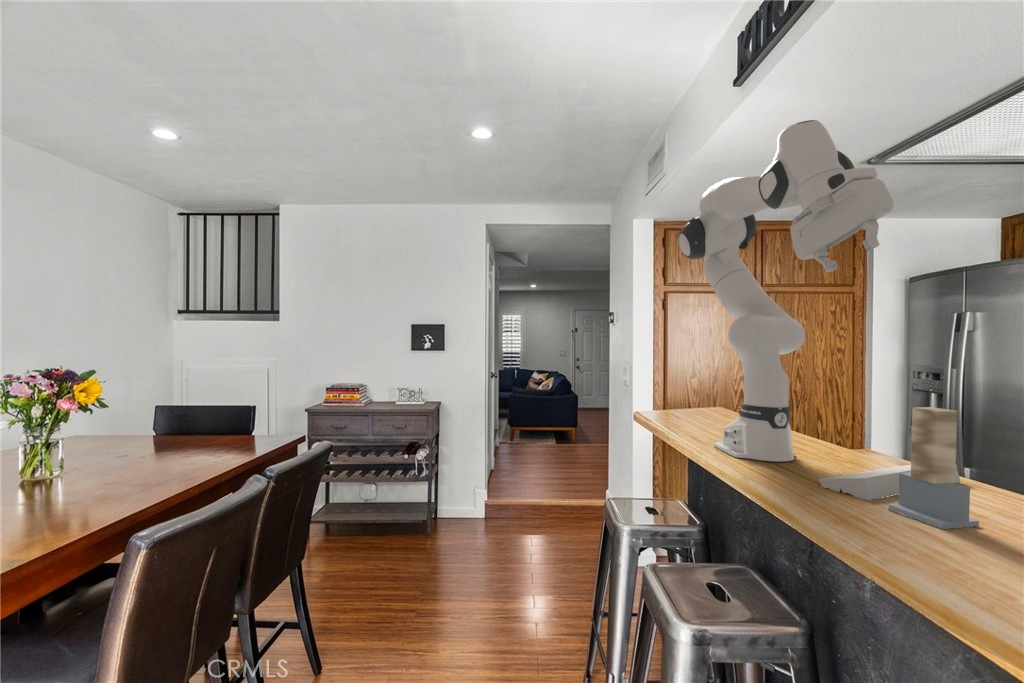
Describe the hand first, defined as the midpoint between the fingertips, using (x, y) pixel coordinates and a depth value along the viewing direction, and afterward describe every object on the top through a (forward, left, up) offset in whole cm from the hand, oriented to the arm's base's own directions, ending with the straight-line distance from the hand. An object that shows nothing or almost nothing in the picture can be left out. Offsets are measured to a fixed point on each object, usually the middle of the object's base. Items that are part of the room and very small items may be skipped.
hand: (851, 259), depth 96 cm
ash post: (+5, +13, -40) cm, 43 cm away
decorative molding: (-14, +26, -48) cm, 57 cm away
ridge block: (+5, +13, -47) cm, 50 cm away
